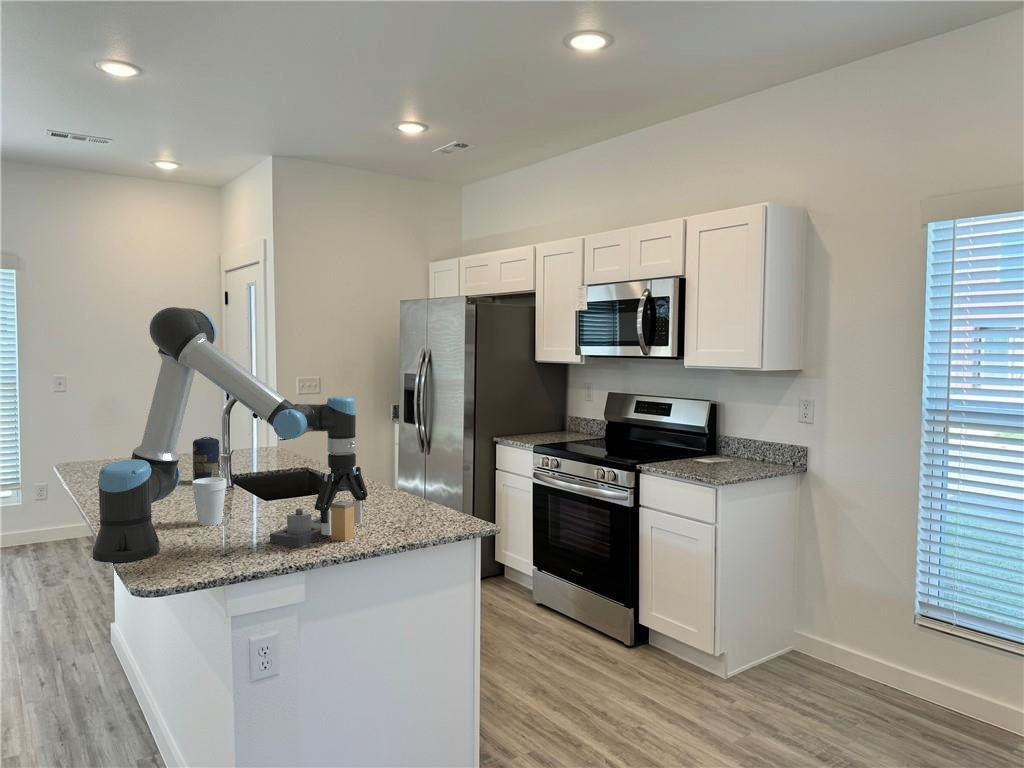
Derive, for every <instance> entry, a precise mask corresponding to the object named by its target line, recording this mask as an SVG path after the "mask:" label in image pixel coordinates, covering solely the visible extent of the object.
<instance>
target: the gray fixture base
mask: <svg viewBox="0 0 1024 768" xmlns="http://www.w3.org/2000/svg"><path fill="white" fill-rule="evenodd" d="M303 511H304V509H303V508H295V512H293V513H289V514H287V515H286V524H287V525H286V528H283V529H280V530H276V531H275V532H271V533H269V543H270V544H276V545H283V546H288V547H295V548H301V547H304V546H306V545H309V544H311V543H314V542H317V541H320V540H322V538H323V539H325V538H328V537H331V536H330V535H323V534H322V527H321V516H320V517H316V518H313V519H312V513H309V512H308V513H307V512H303ZM355 524H356V523H354V526H355ZM327 536H328V537H327ZM319 539H320V540H319Z"/></svg>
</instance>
